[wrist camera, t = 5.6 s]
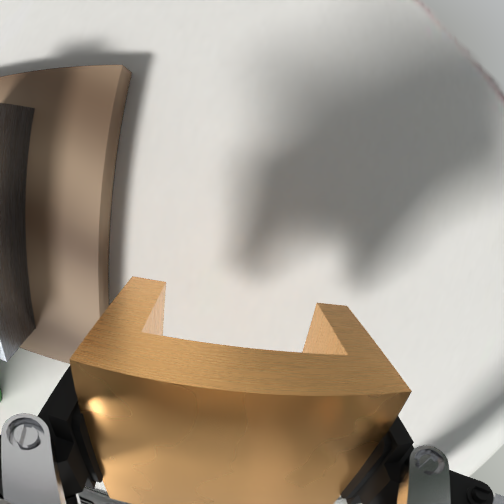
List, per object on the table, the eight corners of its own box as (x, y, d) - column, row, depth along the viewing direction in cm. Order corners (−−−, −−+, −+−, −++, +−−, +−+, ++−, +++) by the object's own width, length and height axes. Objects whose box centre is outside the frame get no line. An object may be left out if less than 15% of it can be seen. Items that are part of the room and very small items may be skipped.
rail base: (112, 358, 16) (105, 372, 15) (-23, 316, 15) (-33, 325, 13) (131, 72, 12) (122, 64, 10) (-26, 88, 10) (-40, 86, 9)
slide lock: (301, 427, 11) (324, 513, 7) (135, 410, 11) (110, 498, 6) (347, 305, 10) (411, 391, 5) (132, 276, 9) (69, 358, 5)
